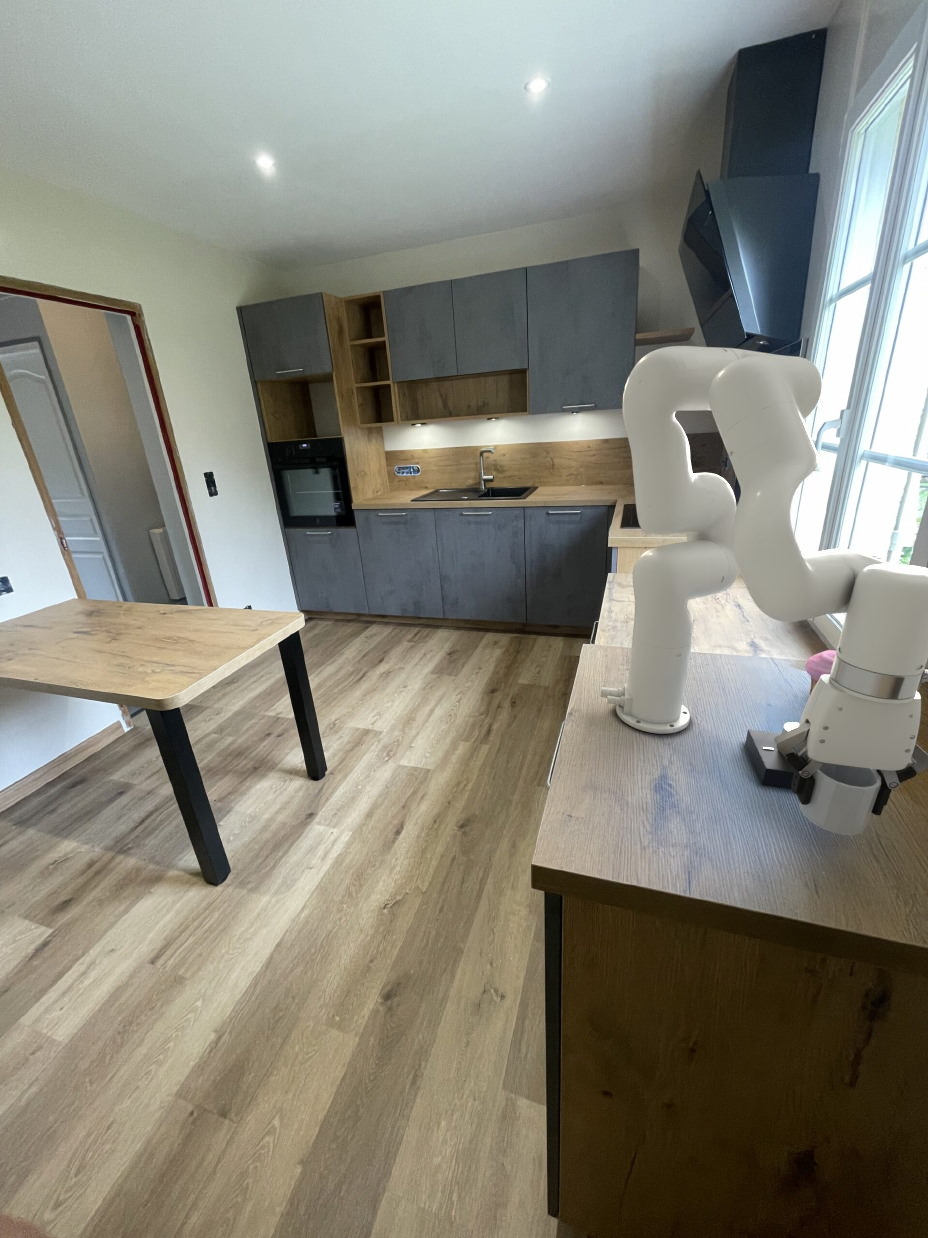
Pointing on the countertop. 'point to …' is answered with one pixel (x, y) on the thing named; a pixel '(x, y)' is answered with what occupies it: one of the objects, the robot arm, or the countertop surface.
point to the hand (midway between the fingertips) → (835, 801)
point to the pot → (842, 798)
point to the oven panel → (769, 759)
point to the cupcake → (819, 666)
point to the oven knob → (789, 727)
